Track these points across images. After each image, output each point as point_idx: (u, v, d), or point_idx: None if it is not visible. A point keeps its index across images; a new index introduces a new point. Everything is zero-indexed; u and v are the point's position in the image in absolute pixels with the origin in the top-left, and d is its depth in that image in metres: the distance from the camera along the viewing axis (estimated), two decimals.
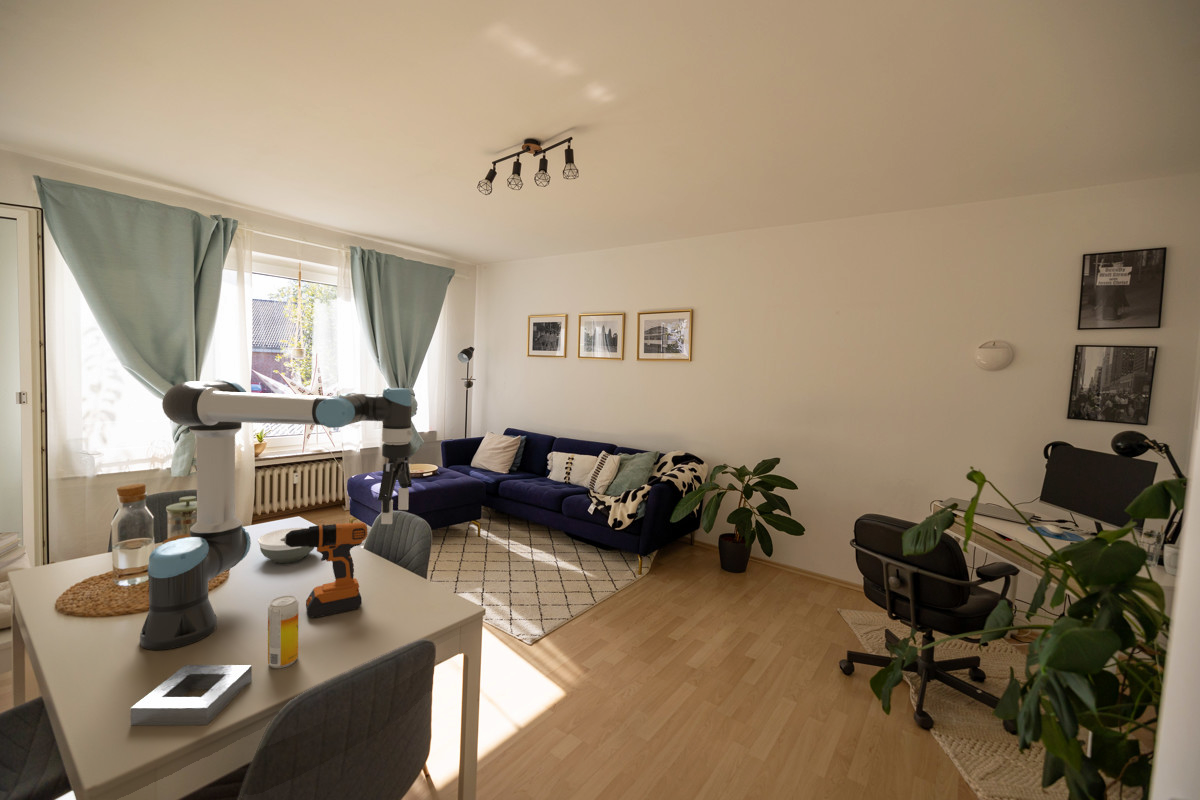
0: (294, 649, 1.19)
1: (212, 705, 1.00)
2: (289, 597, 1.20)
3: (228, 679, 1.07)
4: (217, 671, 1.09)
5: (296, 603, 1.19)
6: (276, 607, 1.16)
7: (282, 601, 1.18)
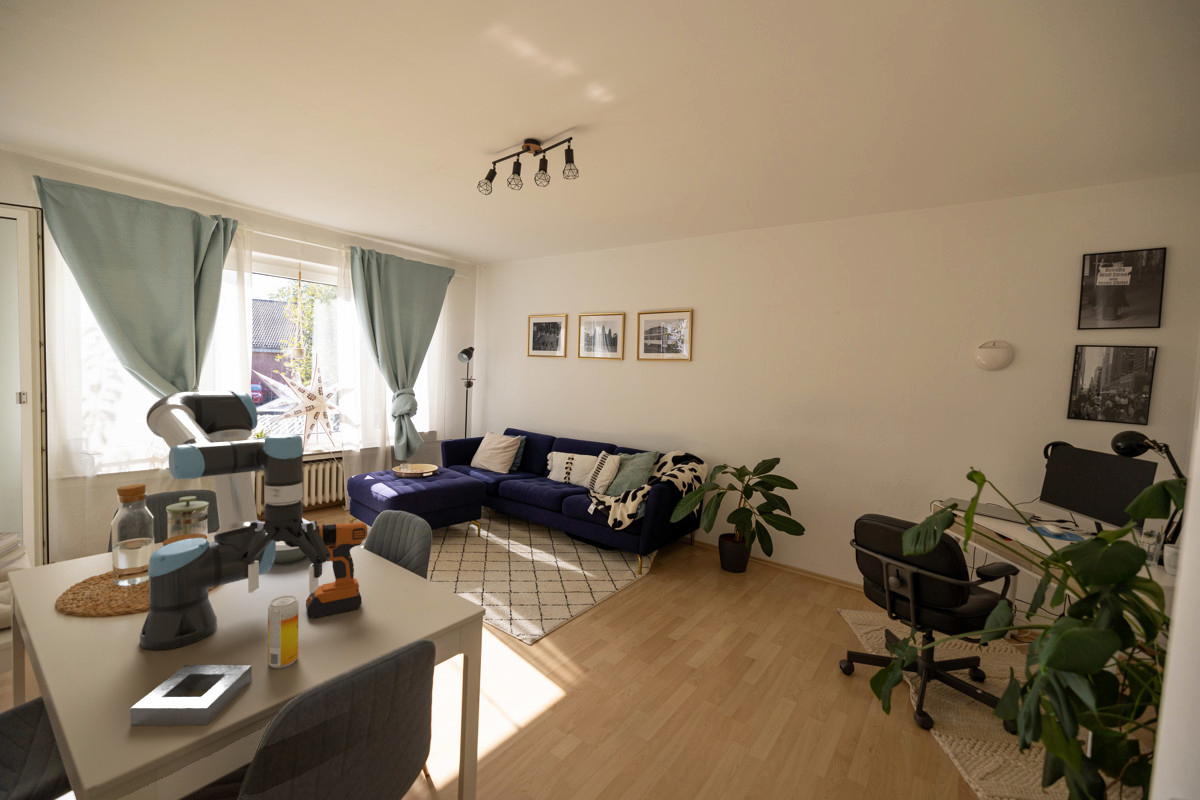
0: (294, 649, 1.19)
1: (212, 705, 1.00)
2: (289, 597, 1.20)
3: (228, 679, 1.07)
4: (217, 671, 1.09)
5: (296, 603, 1.19)
6: (276, 607, 1.16)
7: (282, 601, 1.18)
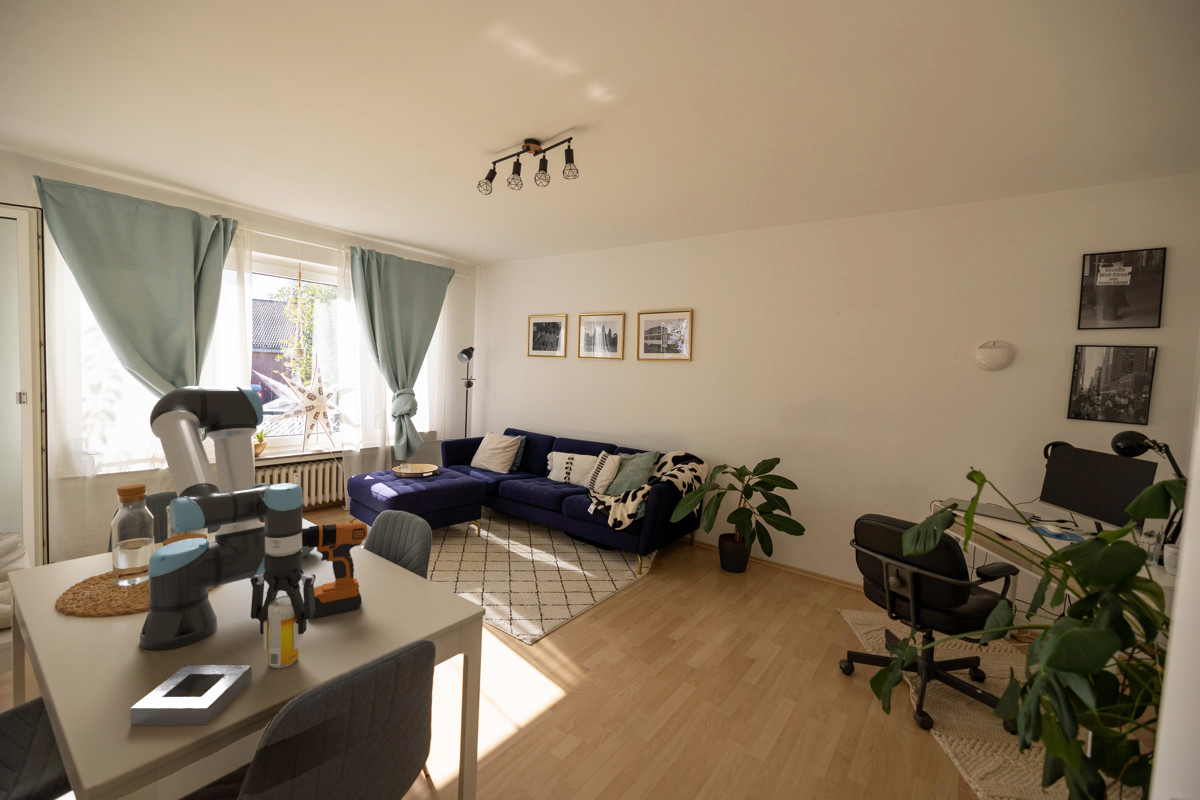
0: None
1: (212, 705, 1.00)
2: None
3: (228, 679, 1.07)
4: (217, 671, 1.09)
5: None
6: (276, 607, 1.16)
7: (282, 601, 1.18)
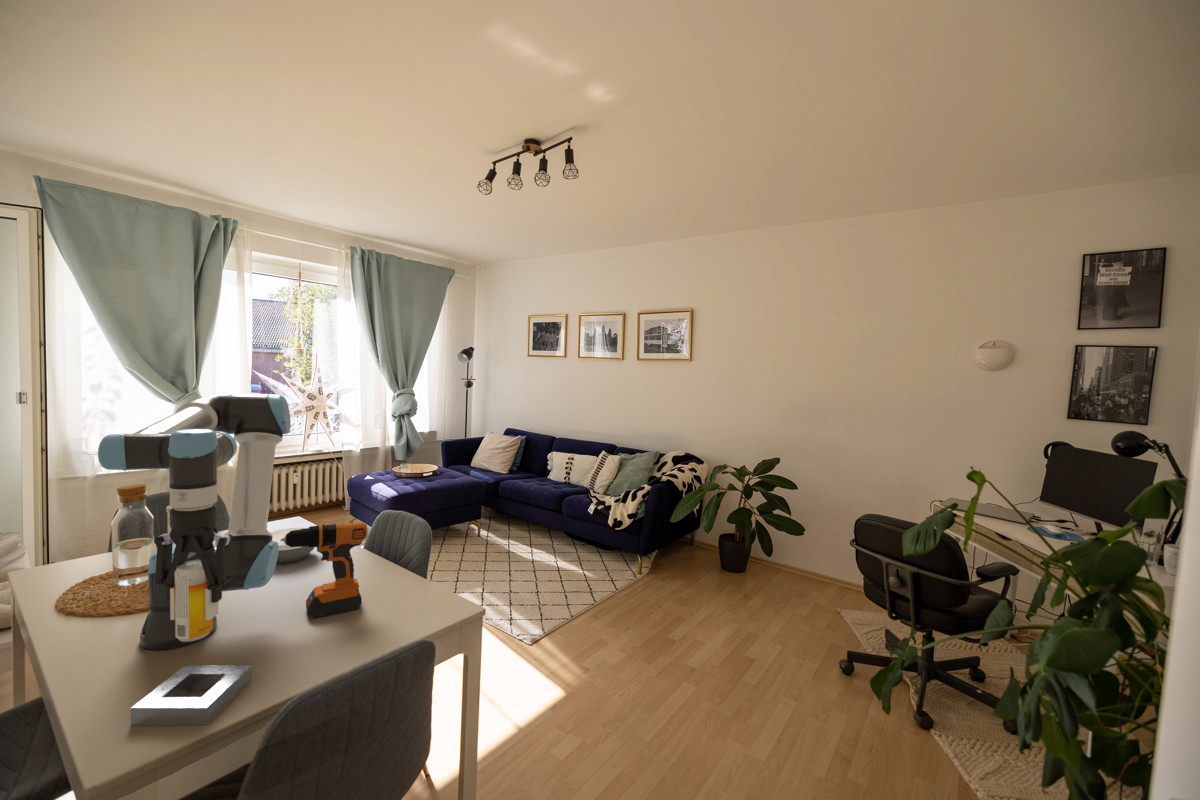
0: (206, 620, 1.03)
1: (212, 705, 1.00)
2: None
3: (228, 679, 1.07)
4: (217, 671, 1.09)
5: None
6: (183, 571, 1.00)
7: (192, 564, 1.03)
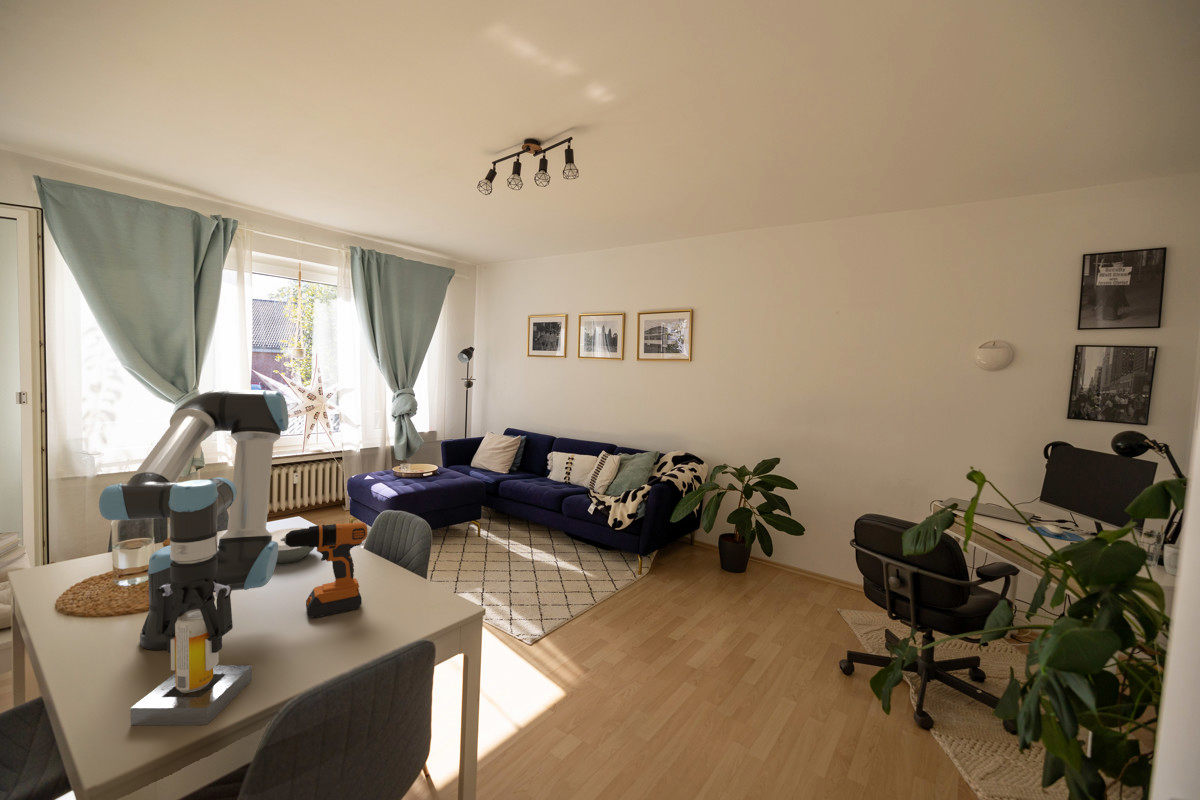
0: None
1: (212, 705, 1.00)
2: None
3: (228, 679, 1.07)
4: (217, 671, 1.09)
5: None
6: (184, 623, 1.01)
7: (193, 615, 1.03)
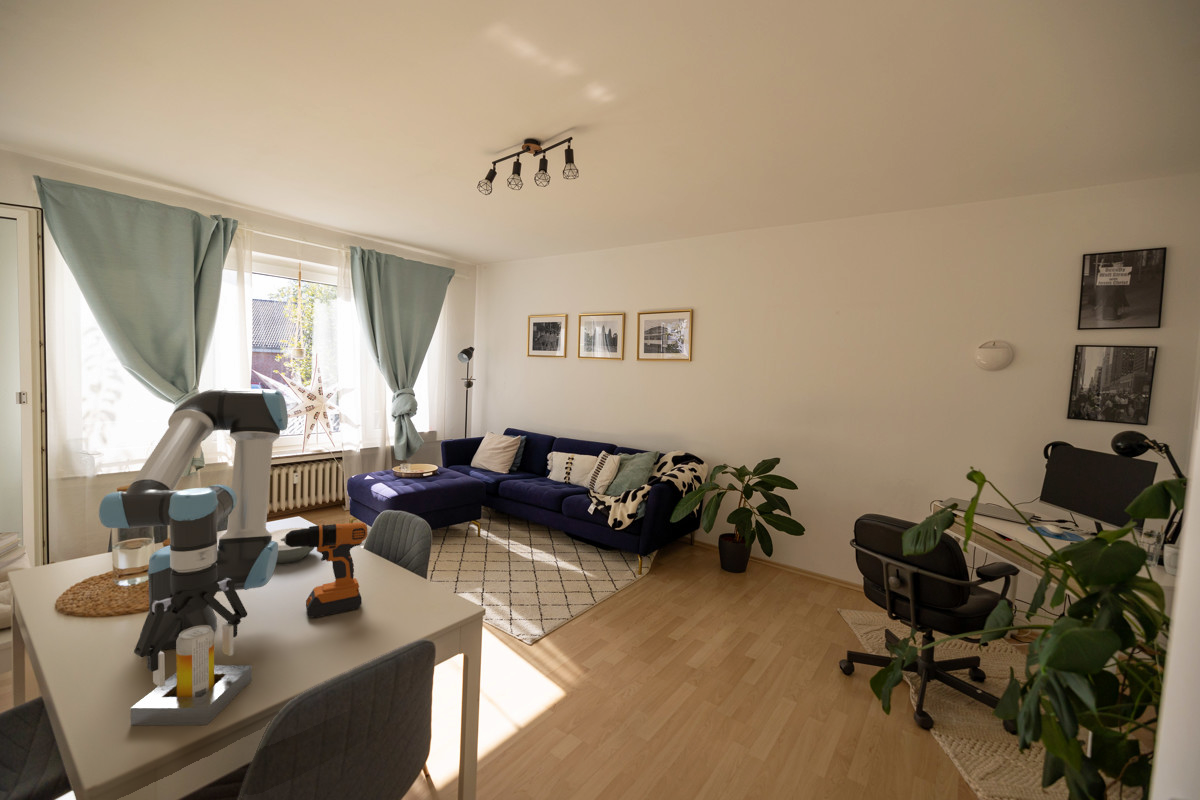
0: None
1: (212, 705, 1.00)
2: (191, 629, 1.05)
3: (228, 679, 1.07)
4: (217, 671, 1.09)
5: None
6: (202, 637, 1.03)
7: (194, 632, 1.04)
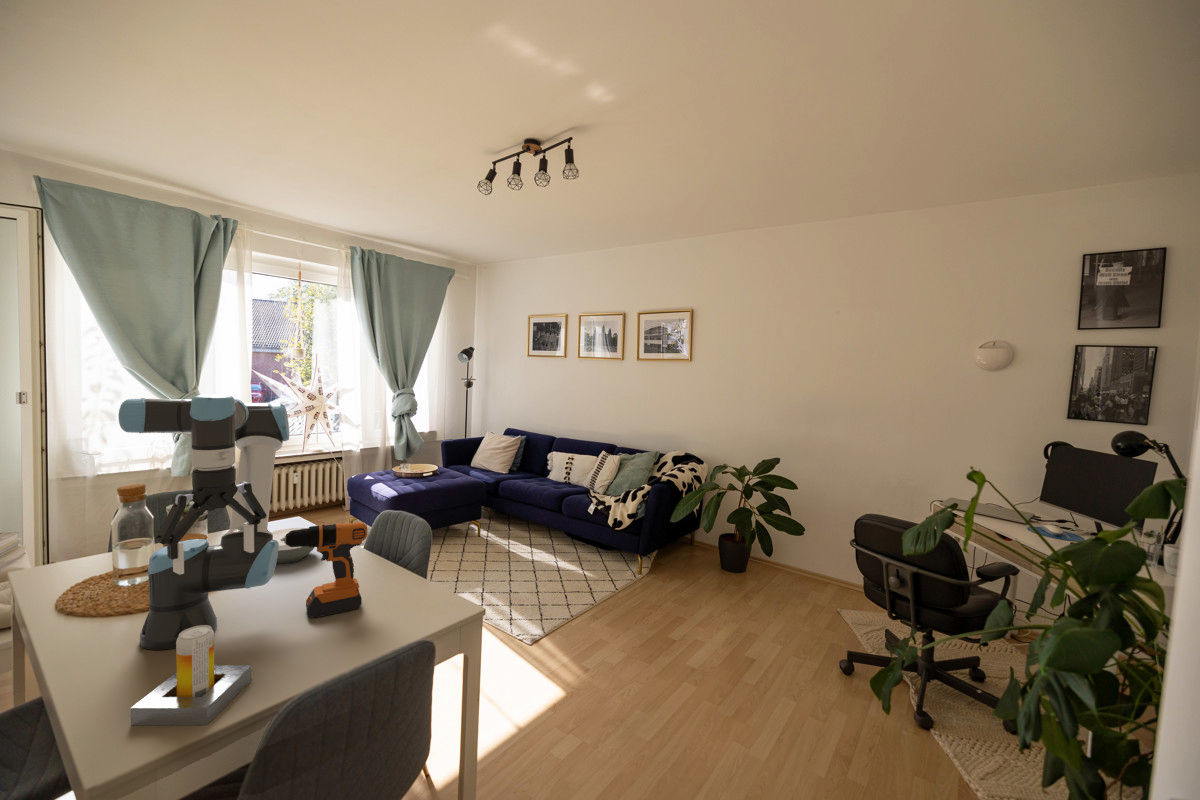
0: None
1: (212, 705, 1.00)
2: (191, 629, 1.05)
3: (228, 679, 1.07)
4: (217, 671, 1.09)
5: None
6: (202, 637, 1.03)
7: (195, 632, 1.04)
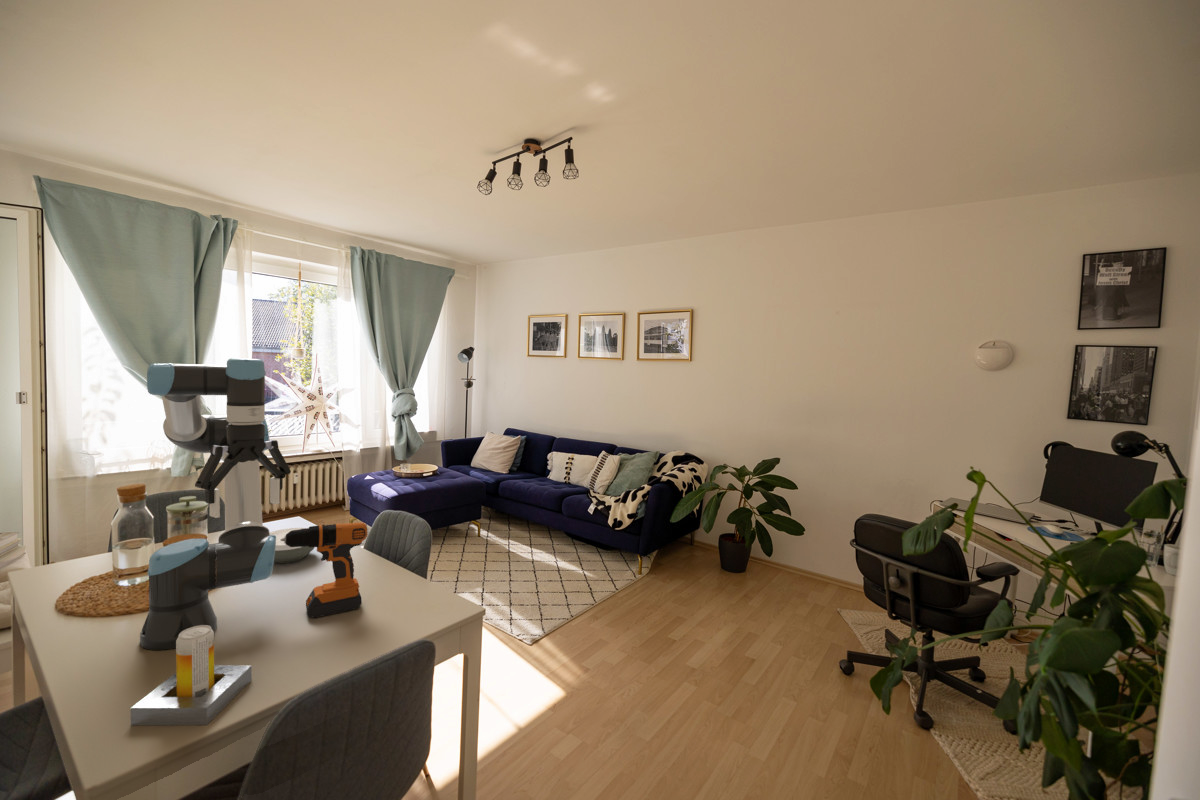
0: None
1: (212, 705, 1.00)
2: (191, 629, 1.05)
3: (228, 679, 1.07)
4: (217, 671, 1.09)
5: None
6: (202, 637, 1.03)
7: (194, 632, 1.04)
